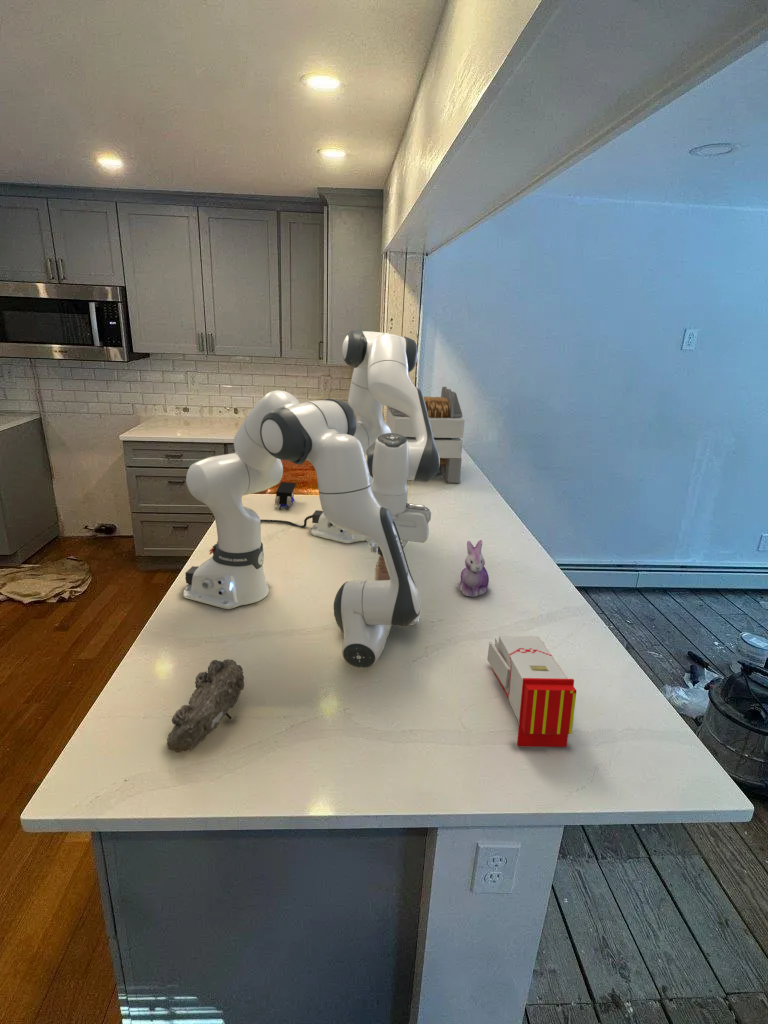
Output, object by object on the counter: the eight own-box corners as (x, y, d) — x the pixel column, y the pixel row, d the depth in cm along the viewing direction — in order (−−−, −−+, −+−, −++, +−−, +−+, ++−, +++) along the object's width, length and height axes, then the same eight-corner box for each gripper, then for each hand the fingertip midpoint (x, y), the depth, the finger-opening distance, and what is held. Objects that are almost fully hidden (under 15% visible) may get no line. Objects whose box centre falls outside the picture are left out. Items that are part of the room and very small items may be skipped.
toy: (536, 619, 129) (586, 686, 99) (531, 673, 131) (578, 754, 102) (483, 618, 128) (517, 685, 99) (479, 672, 131) (511, 753, 102)
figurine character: (292, 514, 217) (296, 498, 230) (291, 496, 214) (296, 480, 227) (274, 514, 217) (280, 497, 230) (273, 496, 213) (279, 480, 227)
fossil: (192, 660, 117) (244, 628, 112) (224, 691, 120) (276, 661, 115) (142, 746, 98) (202, 712, 93) (182, 779, 101) (242, 748, 96)
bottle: (396, 609, 150) (400, 544, 143) (390, 619, 145) (393, 552, 139) (377, 605, 151) (380, 540, 145) (370, 614, 146) (373, 548, 140)
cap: (397, 551, 144) (398, 543, 143) (392, 558, 140) (392, 549, 139) (381, 548, 145) (381, 540, 144) (375, 555, 141) (375, 546, 140)
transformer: (382, 463, 289) (386, 382, 275) (445, 464, 293) (451, 384, 279) (390, 482, 257) (394, 392, 243) (460, 483, 261) (468, 394, 247)
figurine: (470, 601, 155) (475, 551, 150) (449, 585, 164) (454, 537, 159) (497, 594, 160) (504, 545, 154) (476, 579, 168) (481, 532, 163)
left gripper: (418, 613, 132) (425, 587, 144) (333, 602, 135) (347, 577, 148) (416, 637, 134) (423, 608, 147) (332, 625, 137) (347, 598, 150)
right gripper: (433, 502, 139) (429, 553, 144) (352, 493, 142) (351, 544, 147) (429, 510, 133) (425, 563, 138) (345, 501, 137) (344, 553, 141)
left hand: (385, 592), depth 147 cm, fingers closed on bottle, 5 cm apart
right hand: (386, 553), depth 142 cm, fingers open, 5 cm apart
